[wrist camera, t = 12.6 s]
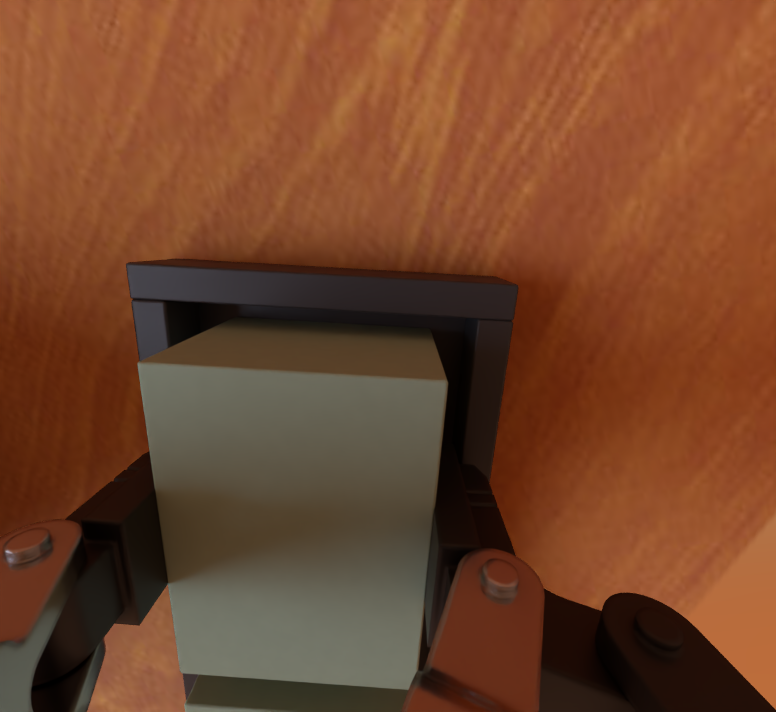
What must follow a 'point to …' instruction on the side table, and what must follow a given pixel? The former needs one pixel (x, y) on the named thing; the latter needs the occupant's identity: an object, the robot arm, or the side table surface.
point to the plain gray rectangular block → (297, 496)
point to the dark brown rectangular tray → (349, 306)
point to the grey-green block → (288, 696)
